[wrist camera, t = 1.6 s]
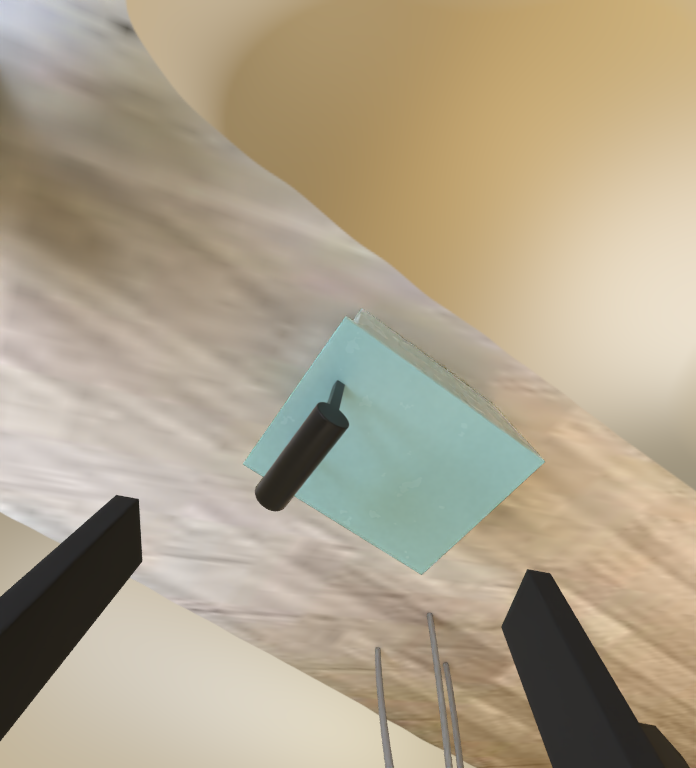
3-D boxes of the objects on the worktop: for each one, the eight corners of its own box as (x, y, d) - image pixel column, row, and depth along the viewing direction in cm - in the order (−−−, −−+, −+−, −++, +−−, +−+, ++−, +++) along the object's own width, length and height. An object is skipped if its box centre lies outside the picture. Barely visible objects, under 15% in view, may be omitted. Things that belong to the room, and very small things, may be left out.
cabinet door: (245, 459, 28) (199, 528, 20) (346, 315, 24) (334, 336, 16) (420, 568, 31) (436, 665, 23) (541, 456, 26) (610, 531, 19)
